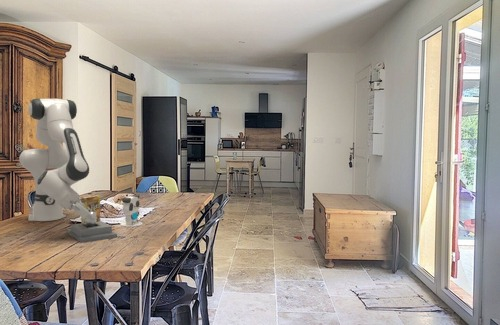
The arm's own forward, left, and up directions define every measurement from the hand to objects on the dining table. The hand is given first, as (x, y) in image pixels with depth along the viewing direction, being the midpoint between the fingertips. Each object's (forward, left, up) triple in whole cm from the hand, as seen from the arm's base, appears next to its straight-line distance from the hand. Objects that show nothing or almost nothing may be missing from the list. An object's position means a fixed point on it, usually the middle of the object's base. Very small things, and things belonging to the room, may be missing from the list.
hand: (92, 219), depth 184 cm
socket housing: (0, -1, -7) cm, 7 cm away
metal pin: (0, -1, -4) cm, 4 cm away
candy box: (-20, +5, -8) cm, 22 cm away
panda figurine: (-11, +23, -8) cm, 27 cm away
